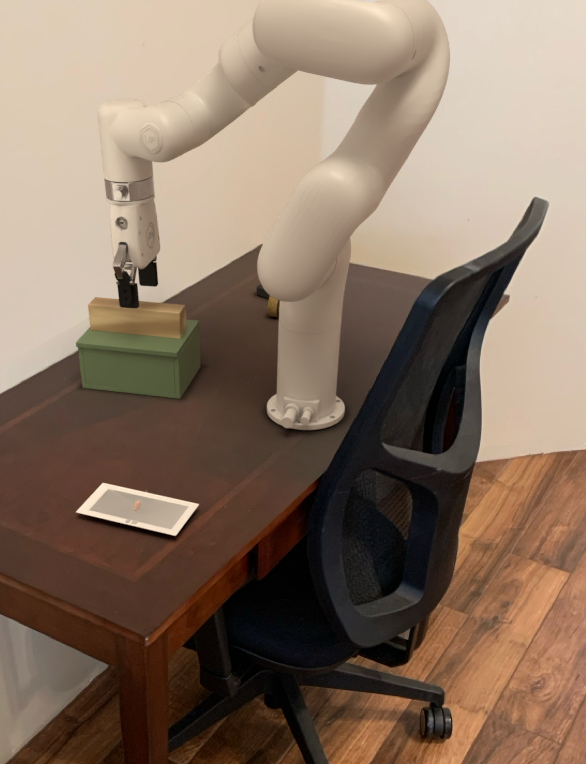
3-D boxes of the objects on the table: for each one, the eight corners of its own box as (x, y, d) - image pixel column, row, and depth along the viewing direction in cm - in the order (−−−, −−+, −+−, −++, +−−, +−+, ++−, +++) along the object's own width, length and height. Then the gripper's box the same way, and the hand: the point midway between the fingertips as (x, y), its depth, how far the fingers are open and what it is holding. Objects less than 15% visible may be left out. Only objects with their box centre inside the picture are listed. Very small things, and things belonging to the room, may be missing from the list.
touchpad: (103, 489, 129) (102, 476, 128) (199, 510, 124) (199, 497, 123) (76, 518, 123) (74, 505, 122) (176, 542, 118) (175, 529, 117)
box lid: (177, 357, 145) (177, 352, 145) (76, 347, 149) (75, 342, 149) (199, 324, 155) (199, 320, 155) (104, 316, 159) (103, 311, 159)
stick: (180, 338, 149) (179, 313, 146) (90, 330, 153) (87, 304, 150) (186, 330, 152) (185, 304, 149) (97, 321, 155) (95, 296, 153)
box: (180, 398, 150) (178, 355, 146) (82, 387, 154) (77, 345, 150) (200, 366, 160) (199, 325, 156) (108, 356, 164) (104, 316, 159)
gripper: (134, 205, 131) (144, 318, 141) (169, 174, 144) (176, 279, 154) (86, 204, 132) (99, 314, 142) (125, 173, 146) (135, 276, 156)
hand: (139, 296), depth 148 cm, fingers open, 9 cm apart
